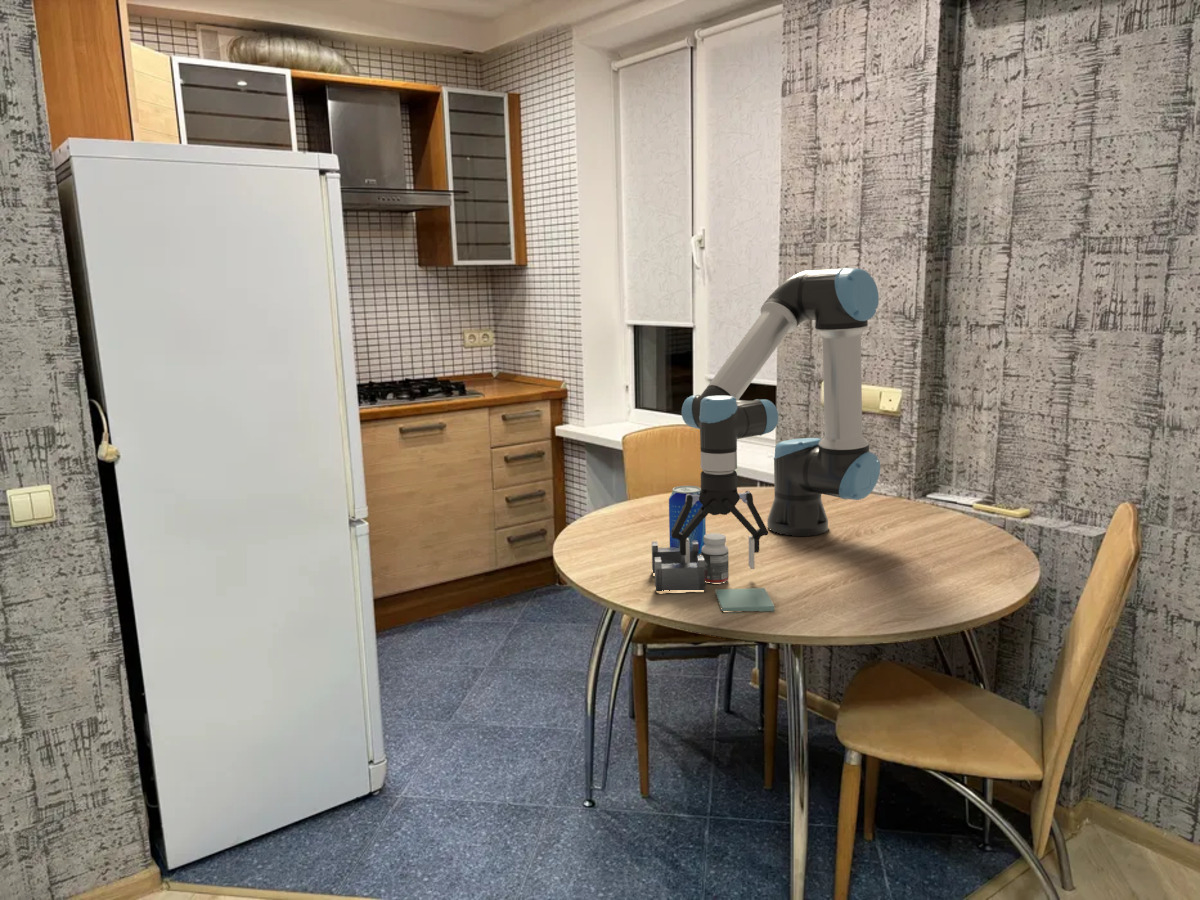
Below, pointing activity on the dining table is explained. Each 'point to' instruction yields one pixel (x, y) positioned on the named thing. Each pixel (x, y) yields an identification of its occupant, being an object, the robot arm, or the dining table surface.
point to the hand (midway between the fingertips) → (719, 568)
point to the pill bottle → (715, 558)
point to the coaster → (744, 599)
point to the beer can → (674, 510)
